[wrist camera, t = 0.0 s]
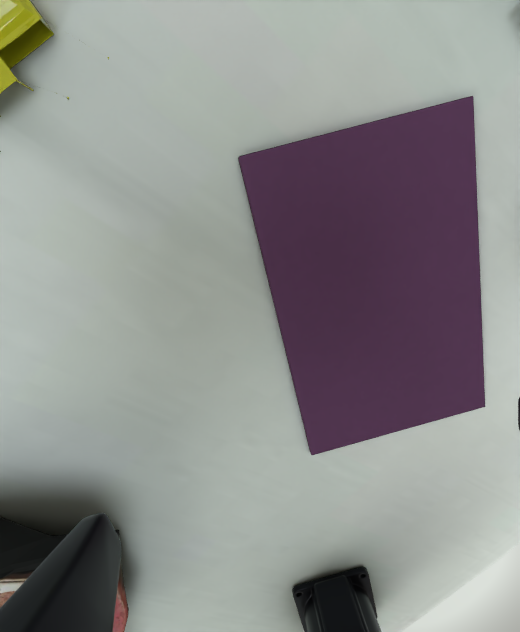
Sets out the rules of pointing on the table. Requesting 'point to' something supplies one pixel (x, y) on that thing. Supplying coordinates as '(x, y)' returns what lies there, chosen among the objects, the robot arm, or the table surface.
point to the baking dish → (29, 552)
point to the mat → (375, 271)
